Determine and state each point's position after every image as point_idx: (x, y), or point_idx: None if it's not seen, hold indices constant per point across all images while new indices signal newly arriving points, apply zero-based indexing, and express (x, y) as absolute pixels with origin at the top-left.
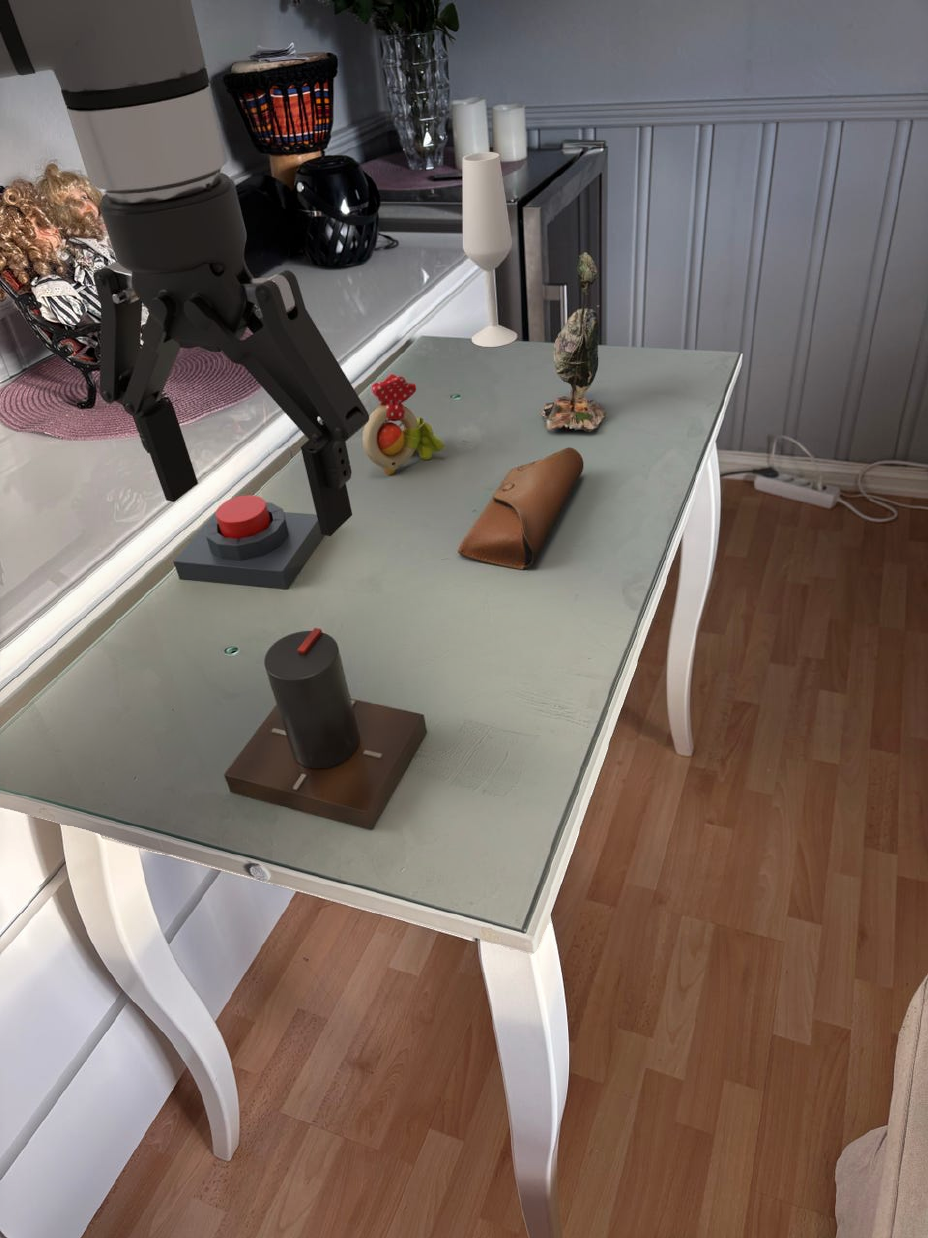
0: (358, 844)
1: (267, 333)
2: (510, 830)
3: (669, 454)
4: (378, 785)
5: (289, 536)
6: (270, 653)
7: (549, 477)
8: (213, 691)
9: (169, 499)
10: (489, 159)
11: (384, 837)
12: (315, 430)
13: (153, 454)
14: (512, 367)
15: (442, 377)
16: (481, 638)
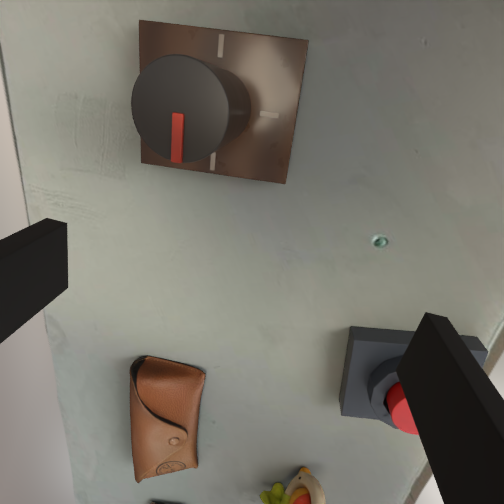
0: (155, 4)
1: None
2: (37, 54)
3: (90, 475)
4: (142, 59)
5: (364, 387)
6: (222, 107)
7: (139, 449)
8: (379, 183)
9: (438, 317)
10: None
11: (135, 19)
12: None
13: (494, 403)
14: None
15: None
16: (149, 276)
